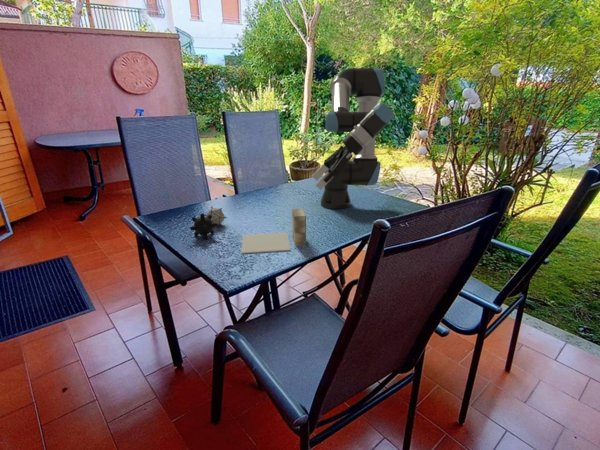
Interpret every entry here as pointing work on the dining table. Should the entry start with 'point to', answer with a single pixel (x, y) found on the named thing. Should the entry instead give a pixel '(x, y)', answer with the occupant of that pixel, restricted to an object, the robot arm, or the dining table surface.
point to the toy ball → (203, 225)
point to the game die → (216, 215)
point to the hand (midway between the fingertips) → (316, 182)
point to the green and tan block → (299, 226)
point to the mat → (265, 243)
